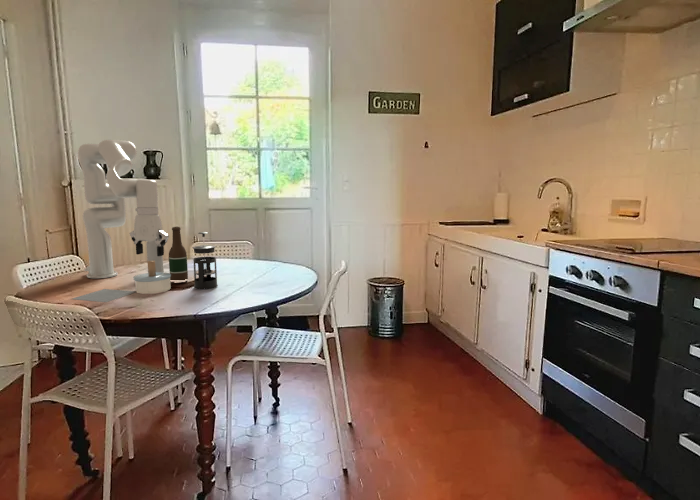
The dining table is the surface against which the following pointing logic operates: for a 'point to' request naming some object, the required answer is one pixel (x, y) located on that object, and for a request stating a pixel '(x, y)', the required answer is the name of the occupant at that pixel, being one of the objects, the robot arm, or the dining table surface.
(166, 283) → the bowl
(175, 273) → the beer bottle
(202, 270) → the french press
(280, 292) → the dining table surface
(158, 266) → the bottle
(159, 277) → the lid
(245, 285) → the dining table surface
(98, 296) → the mat
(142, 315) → the dining table surface
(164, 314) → the dining table surface
